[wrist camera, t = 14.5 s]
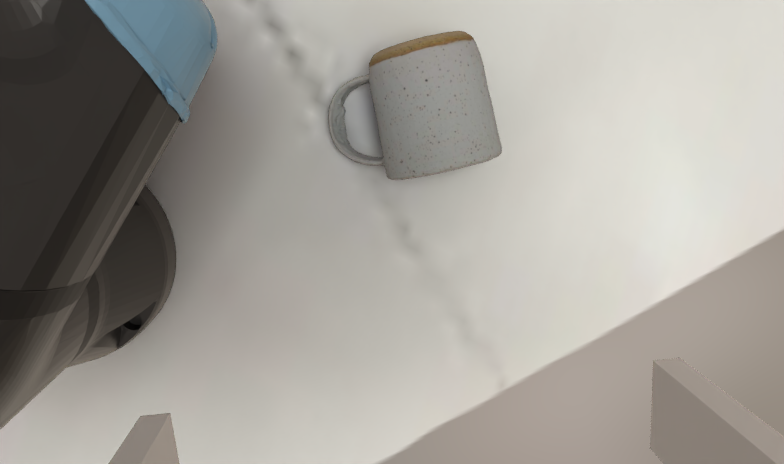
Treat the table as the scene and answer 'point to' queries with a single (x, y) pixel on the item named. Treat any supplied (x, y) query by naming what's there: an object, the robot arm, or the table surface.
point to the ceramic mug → (425, 107)
